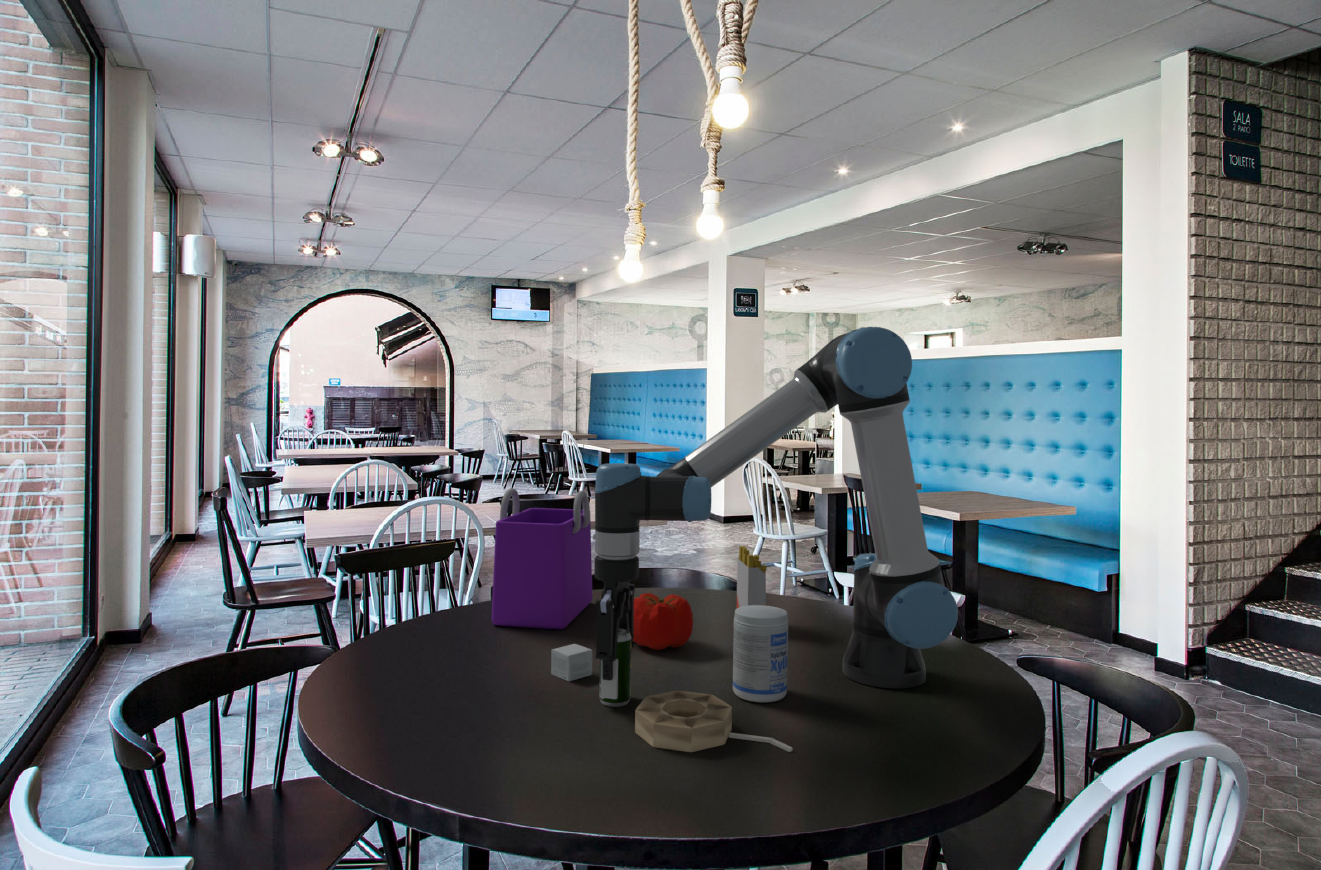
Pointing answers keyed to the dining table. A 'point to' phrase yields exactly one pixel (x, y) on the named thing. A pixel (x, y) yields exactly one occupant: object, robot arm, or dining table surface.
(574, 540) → the shopping bag
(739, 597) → the french fries container
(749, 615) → the supplement tub
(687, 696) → the tan octagonal bowl
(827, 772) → the dining table surface
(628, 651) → the beer can
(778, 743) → the drinking straw
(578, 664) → the small box
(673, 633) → the tomato
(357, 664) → the dining table surface
